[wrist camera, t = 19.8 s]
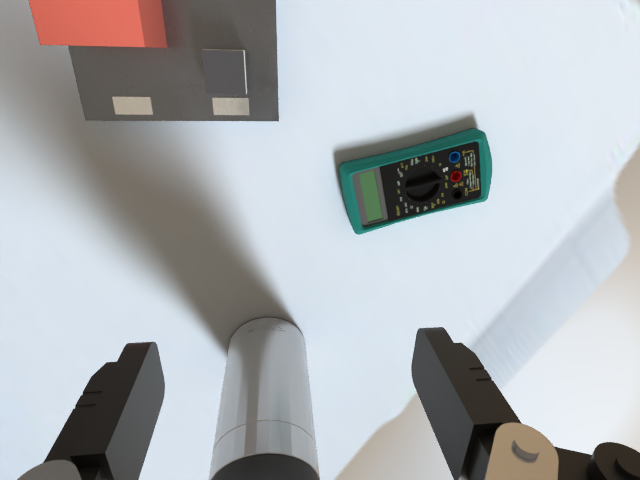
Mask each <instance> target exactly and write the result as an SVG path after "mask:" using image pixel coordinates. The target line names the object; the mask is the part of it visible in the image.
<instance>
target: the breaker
mask: <svg viewBox="0 0 640 480" xmlns="http://www.w3.org/2000/svg"><path fill="white" fill-rule="evenodd" d="M202 59H203V69H204V79H205V89H206V93H208V94H247V91H248V81H247V63H246V51H245V50H222V49H202Z"/></svg>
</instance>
